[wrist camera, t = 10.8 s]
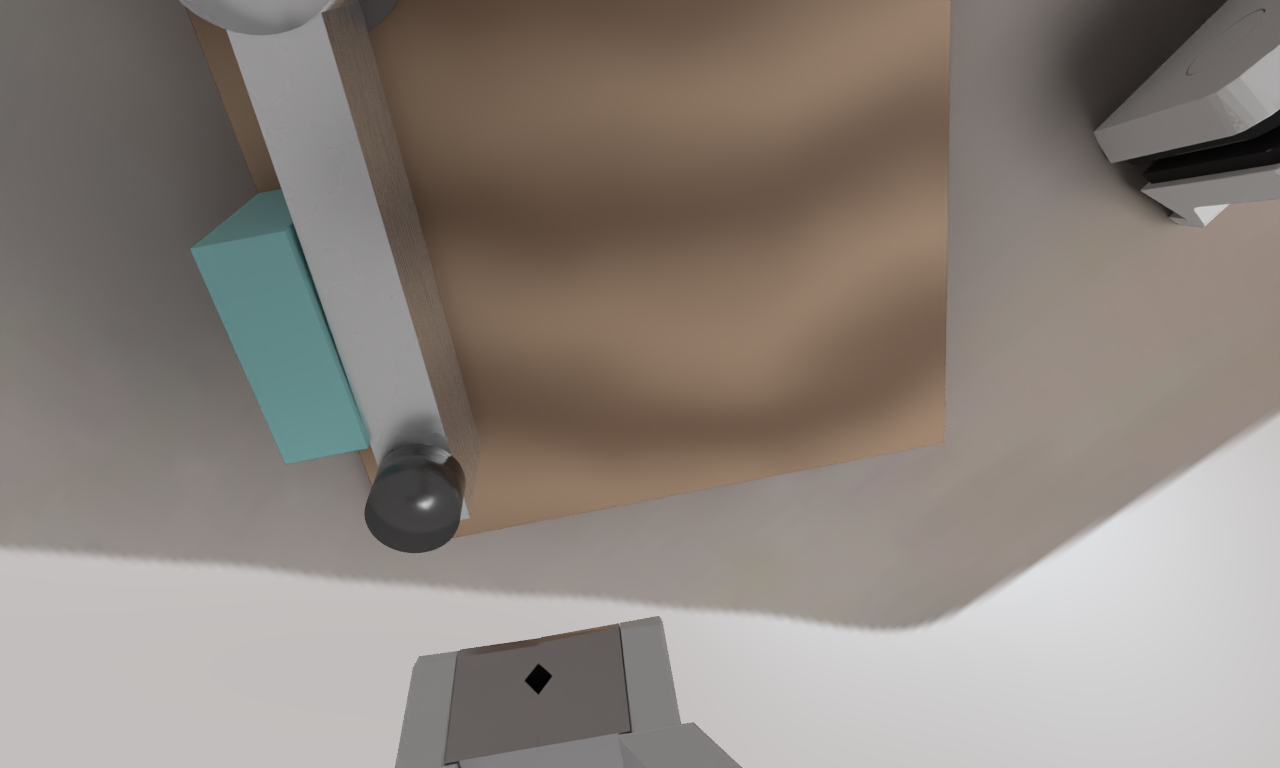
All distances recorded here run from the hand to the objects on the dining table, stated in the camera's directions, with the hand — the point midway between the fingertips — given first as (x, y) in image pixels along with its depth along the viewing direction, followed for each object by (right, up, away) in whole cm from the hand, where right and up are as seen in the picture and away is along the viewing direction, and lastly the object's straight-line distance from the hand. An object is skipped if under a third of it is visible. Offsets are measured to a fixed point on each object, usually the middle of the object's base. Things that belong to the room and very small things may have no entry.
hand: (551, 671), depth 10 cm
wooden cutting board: (0, +10, +15) cm, 18 cm away
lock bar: (-6, +9, +13) cm, 17 cm away
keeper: (-8, +7, +14) cm, 18 cm away
